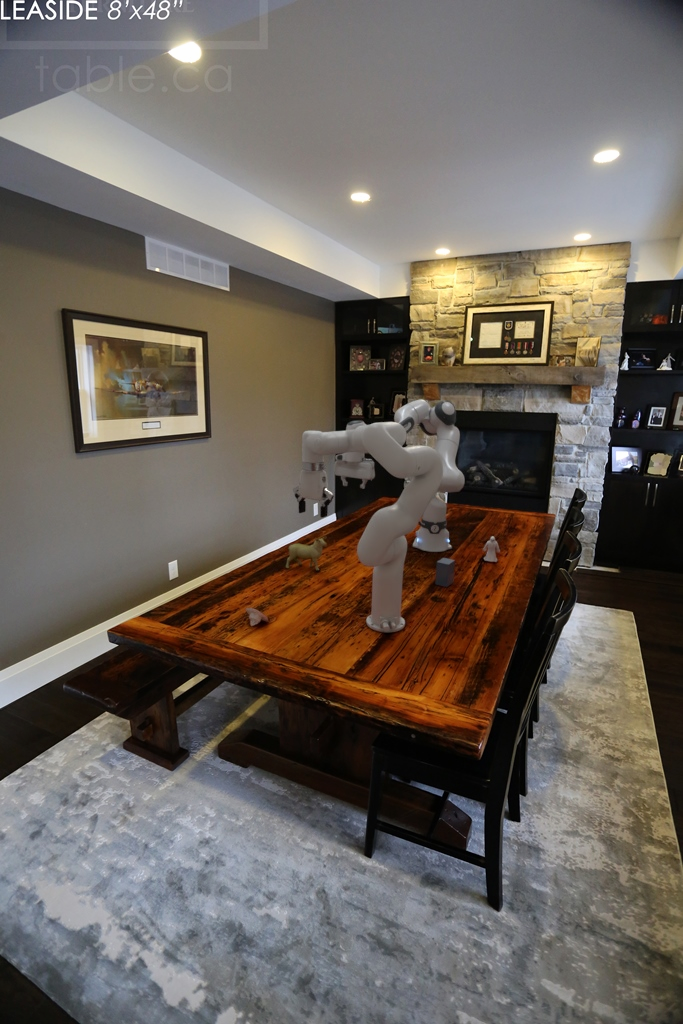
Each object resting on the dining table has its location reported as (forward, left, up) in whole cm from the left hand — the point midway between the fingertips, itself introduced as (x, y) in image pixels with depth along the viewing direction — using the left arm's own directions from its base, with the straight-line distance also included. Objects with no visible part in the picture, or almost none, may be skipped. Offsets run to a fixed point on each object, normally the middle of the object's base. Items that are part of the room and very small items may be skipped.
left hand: (312, 514), depth 177 cm
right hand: (+52, -20, 0) cm, 56 cm away
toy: (+26, +2, -31) cm, 40 cm away
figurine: (+35, -81, -31) cm, 93 cm away
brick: (+9, -52, -31) cm, 61 cm away
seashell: (-23, +19, -31) cm, 42 cm away
